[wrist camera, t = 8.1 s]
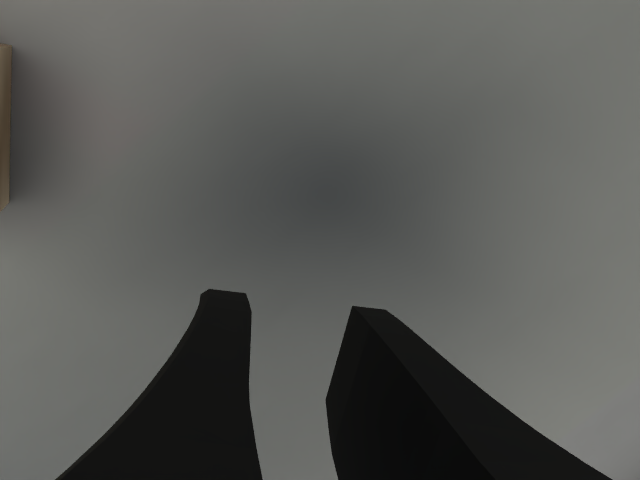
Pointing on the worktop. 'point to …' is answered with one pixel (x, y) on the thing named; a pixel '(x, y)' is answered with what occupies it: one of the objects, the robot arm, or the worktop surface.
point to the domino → (5, 122)
